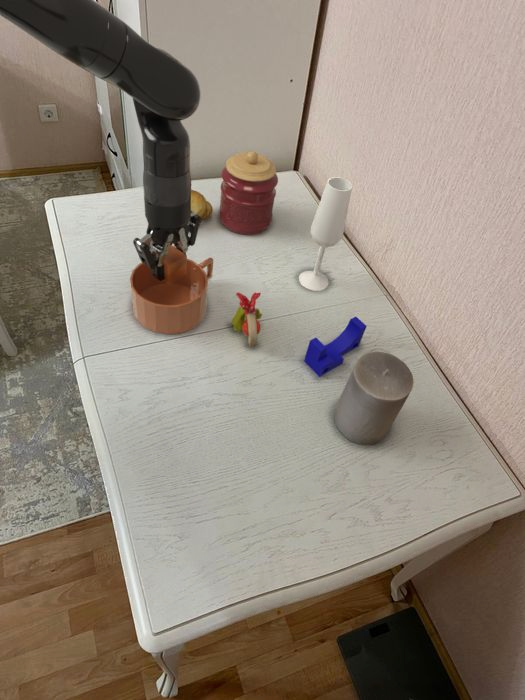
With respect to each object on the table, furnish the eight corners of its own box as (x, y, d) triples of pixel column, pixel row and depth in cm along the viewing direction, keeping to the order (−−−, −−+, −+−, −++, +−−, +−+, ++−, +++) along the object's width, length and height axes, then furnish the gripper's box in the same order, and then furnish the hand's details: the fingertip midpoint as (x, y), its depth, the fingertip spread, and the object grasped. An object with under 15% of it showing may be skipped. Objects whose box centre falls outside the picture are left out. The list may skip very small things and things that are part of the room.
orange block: (168, 285, 92) (168, 266, 89) (152, 272, 94) (151, 253, 90) (186, 274, 94) (186, 255, 91) (170, 262, 96) (169, 243, 93)
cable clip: (319, 377, 94) (326, 356, 90) (303, 361, 96) (309, 340, 92) (363, 351, 100) (372, 331, 95) (348, 337, 102) (355, 316, 97)
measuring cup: (168, 346, 94) (167, 318, 89) (117, 306, 99) (113, 277, 94) (235, 298, 105) (239, 271, 99) (187, 264, 110) (187, 236, 104)
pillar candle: (390, 408, 91) (419, 355, 80) (383, 453, 85) (414, 403, 74) (338, 392, 92) (360, 338, 81) (328, 435, 86) (350, 383, 75)
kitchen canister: (277, 234, 121) (289, 167, 108) (224, 238, 118) (230, 168, 104) (263, 203, 129) (272, 137, 116) (213, 205, 125) (217, 137, 112)
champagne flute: (312, 266, 115) (337, 170, 97) (334, 282, 112) (364, 186, 94) (292, 278, 111) (314, 180, 93) (315, 295, 109) (342, 198, 91)
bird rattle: (266, 349, 100) (258, 307, 102) (279, 331, 89) (270, 284, 91) (235, 353, 98) (228, 309, 100) (245, 335, 88) (237, 287, 90)
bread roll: (209, 207, 125) (210, 178, 119) (216, 231, 119) (218, 201, 113) (156, 209, 122) (155, 179, 116) (161, 233, 116) (160, 203, 110)
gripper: (183, 167, 86) (183, 246, 99) (116, 196, 78) (125, 279, 91) (215, 186, 84) (210, 265, 96) (149, 219, 76) (153, 300, 89)
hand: (169, 272), depth 94 cm, fingers closed on orange block, 4 cm apart
